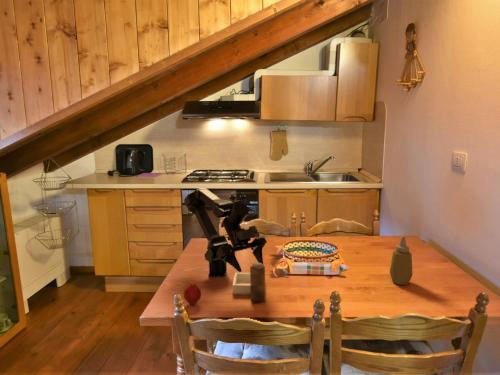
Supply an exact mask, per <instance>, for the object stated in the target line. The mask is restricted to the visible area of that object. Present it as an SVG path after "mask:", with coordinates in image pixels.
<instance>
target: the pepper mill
mask: <svg viewBox="0 0 500 375" xmlns="http://www.w3.org/2000/svg"><path fill="white" fill-rule="evenodd" d="M249 267H250V268H249V269H250V271H249V273H250V287H251V295H250V302H251V304H252V303H253V304H256V305H257V304H258V305H259V304H263V303H265V301H266V266H264V263H263V264H262V263H258V262H253V263H252V265H250V266H249Z"/></svg>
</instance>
